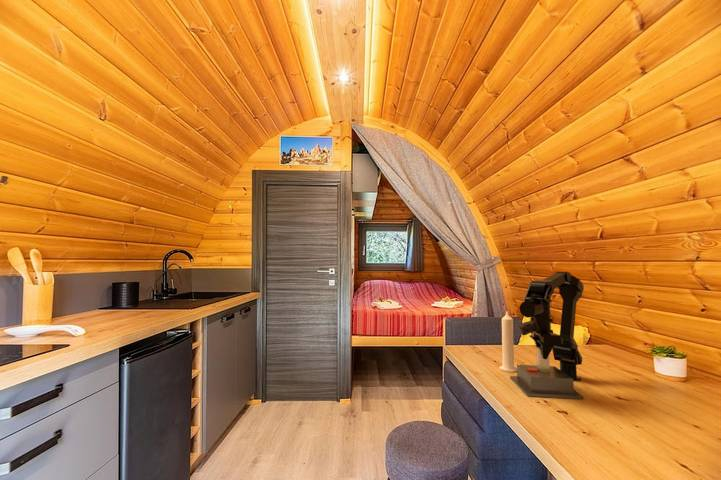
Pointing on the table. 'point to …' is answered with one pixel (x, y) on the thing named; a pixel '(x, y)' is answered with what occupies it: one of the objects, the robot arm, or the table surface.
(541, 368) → the post
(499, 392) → the table surface
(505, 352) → the candle
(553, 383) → the stand
